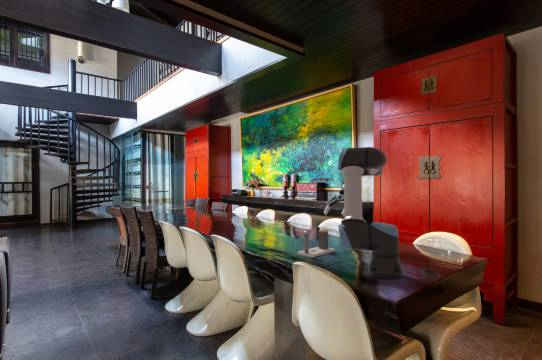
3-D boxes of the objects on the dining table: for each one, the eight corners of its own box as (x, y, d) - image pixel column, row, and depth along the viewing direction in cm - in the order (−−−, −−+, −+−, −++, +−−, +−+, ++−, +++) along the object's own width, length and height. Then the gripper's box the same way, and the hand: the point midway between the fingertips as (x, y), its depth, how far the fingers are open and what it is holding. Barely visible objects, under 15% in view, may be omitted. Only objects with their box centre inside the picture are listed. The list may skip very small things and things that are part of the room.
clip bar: (310, 234, 168) (309, 231, 168) (305, 234, 167) (304, 231, 167) (296, 229, 184) (296, 227, 184) (292, 230, 183) (292, 227, 183)
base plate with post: (312, 259, 164) (311, 235, 164) (297, 255, 172) (297, 233, 172) (335, 253, 178) (334, 230, 178) (320, 250, 186) (320, 229, 186)
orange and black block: (324, 249, 177) (323, 230, 177) (318, 248, 180) (318, 230, 180) (328, 248, 179) (327, 229, 179) (322, 247, 182) (322, 229, 182)
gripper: (365, 194, 190) (353, 219, 179) (333, 194, 209) (320, 217, 198) (361, 186, 187) (348, 211, 176) (329, 186, 205) (315, 209, 195)
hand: (333, 214), depth 187 cm, fingers open, 13 cm apart
